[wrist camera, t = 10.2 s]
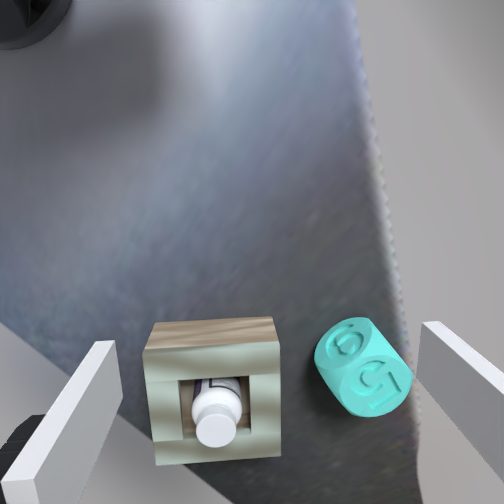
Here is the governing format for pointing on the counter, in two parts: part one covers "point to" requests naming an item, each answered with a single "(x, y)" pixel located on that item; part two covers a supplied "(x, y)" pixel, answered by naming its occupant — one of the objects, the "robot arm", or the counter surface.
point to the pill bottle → (216, 409)
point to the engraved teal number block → (362, 368)
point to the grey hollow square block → (213, 366)
